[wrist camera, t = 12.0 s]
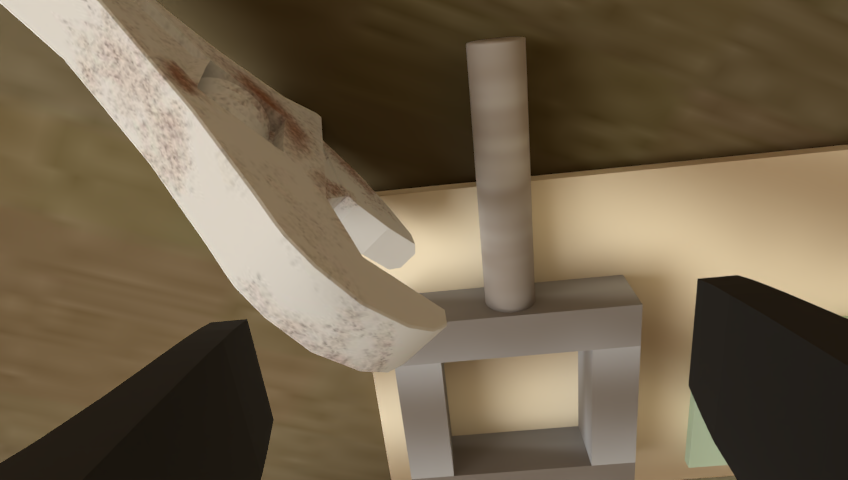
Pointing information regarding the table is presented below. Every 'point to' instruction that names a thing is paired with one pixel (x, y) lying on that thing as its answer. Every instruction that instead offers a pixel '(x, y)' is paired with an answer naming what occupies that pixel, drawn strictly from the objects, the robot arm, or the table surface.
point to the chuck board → (586, 294)
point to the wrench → (249, 179)
